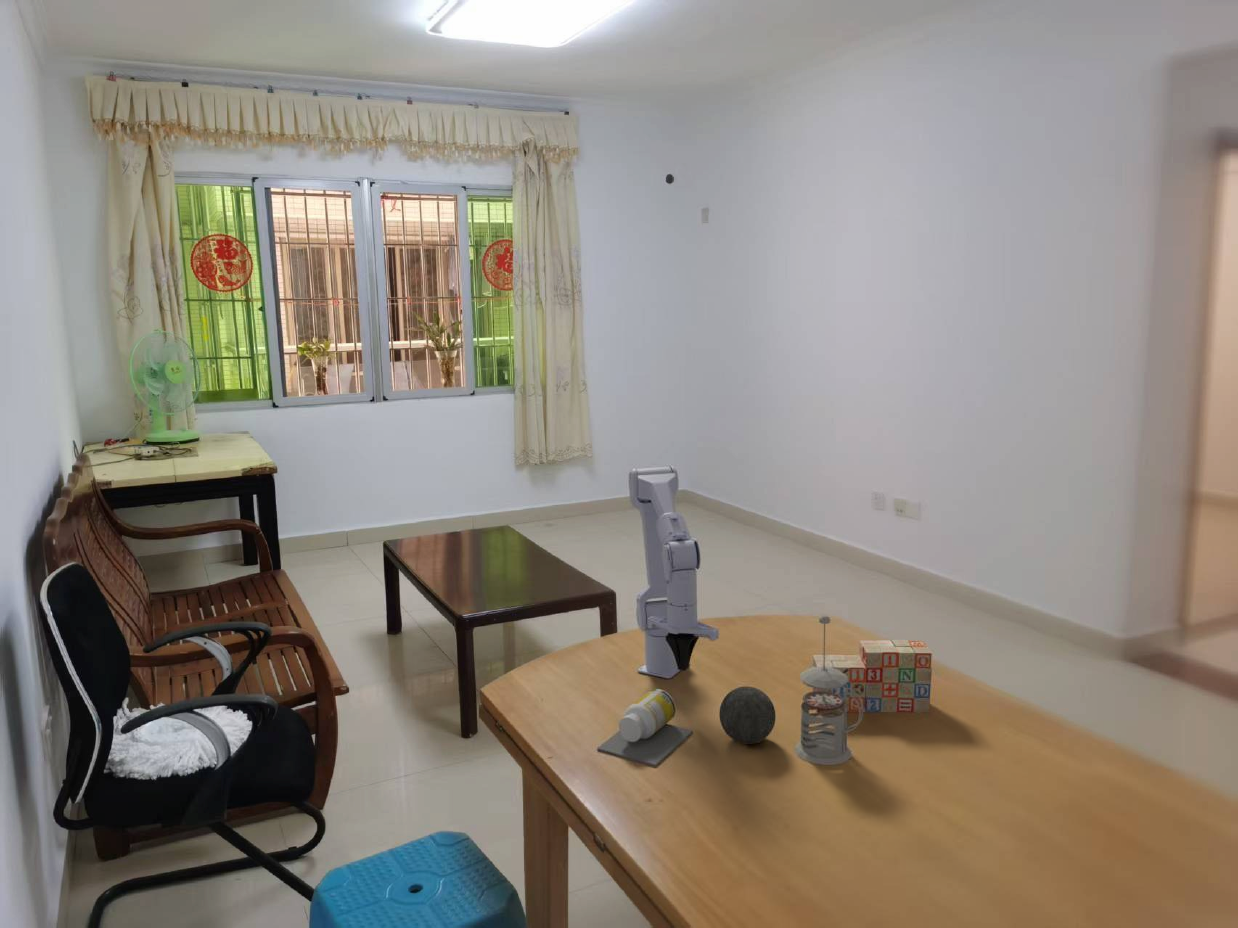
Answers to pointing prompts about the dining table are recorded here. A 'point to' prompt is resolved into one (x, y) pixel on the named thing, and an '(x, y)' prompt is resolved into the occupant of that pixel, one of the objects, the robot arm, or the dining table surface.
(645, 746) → the mat
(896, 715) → the dining table surface
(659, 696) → the pill bottle
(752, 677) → the dining table surface
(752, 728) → the decorative ball
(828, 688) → the french press
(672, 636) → the robot arm
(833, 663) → the stack of blocks
